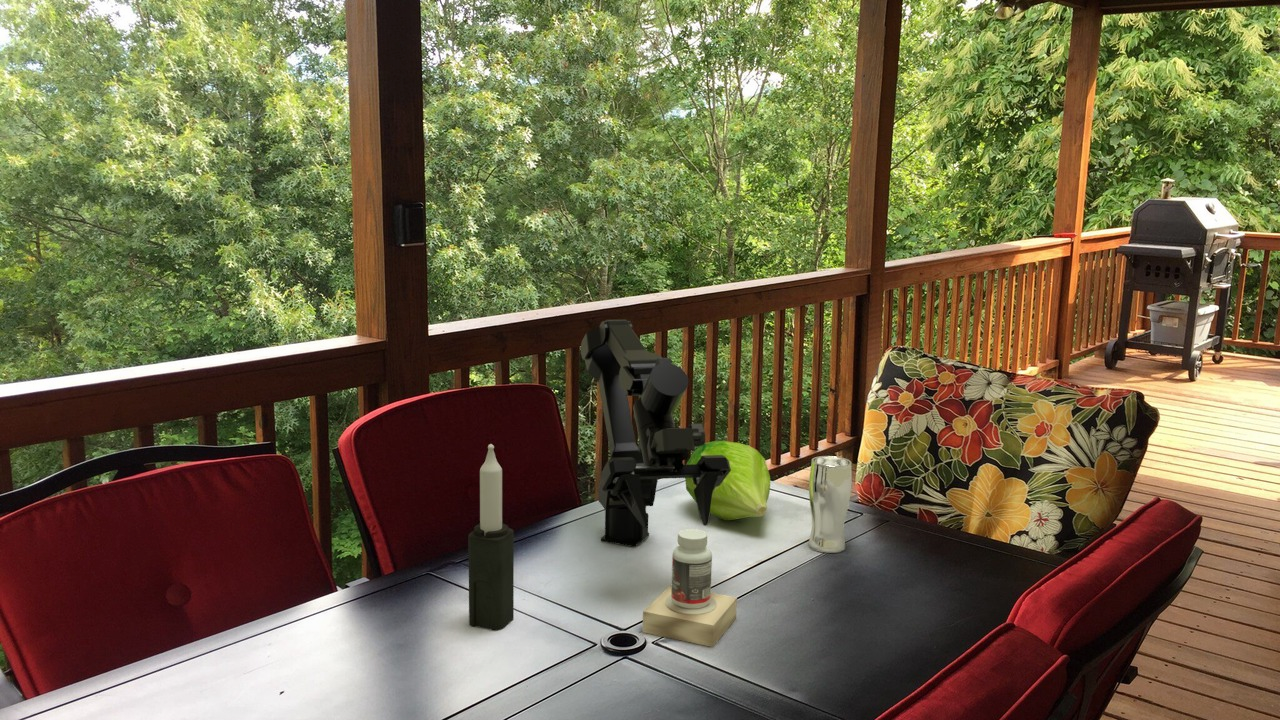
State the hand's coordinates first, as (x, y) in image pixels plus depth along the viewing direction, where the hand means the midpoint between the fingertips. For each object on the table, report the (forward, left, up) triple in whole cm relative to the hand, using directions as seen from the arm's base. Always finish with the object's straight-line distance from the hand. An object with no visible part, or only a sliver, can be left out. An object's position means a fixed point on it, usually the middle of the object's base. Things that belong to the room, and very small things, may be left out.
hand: (676, 525), depth 143 cm
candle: (-20, -17, -12) cm, 29 cm away
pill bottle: (+5, -6, -8) cm, 11 cm away
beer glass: (+15, +33, -12) cm, 38 cm away
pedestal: (+5, -6, -12) cm, 14 cm away
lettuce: (-4, +40, -12) cm, 42 cm away
